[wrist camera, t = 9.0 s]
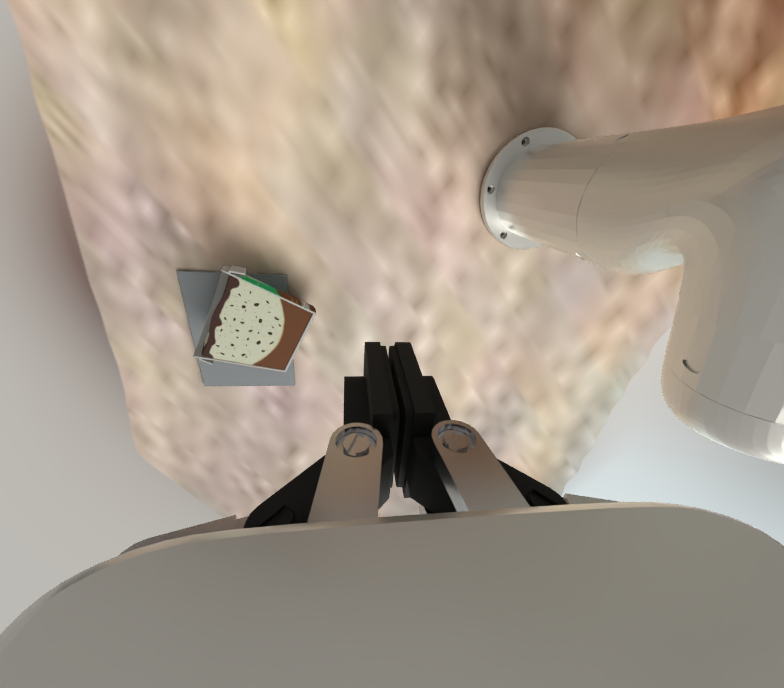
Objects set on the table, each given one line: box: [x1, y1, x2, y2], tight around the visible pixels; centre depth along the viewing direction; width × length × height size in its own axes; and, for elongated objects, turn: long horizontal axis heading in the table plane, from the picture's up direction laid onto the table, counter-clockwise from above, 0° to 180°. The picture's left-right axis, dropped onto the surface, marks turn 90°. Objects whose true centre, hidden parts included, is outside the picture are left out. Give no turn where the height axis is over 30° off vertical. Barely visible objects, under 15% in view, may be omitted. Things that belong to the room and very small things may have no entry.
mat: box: [176, 270, 295, 386], centre depth 41 cm, size 12×16×1 cm
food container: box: [193, 265, 316, 372], centre depth 37 cm, size 12×6×10 cm
